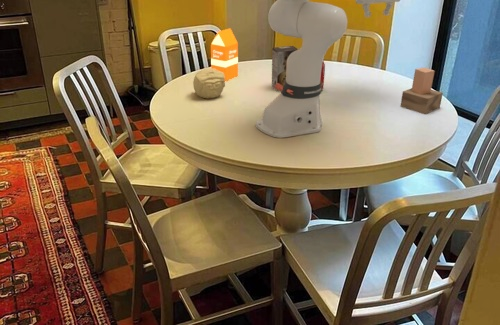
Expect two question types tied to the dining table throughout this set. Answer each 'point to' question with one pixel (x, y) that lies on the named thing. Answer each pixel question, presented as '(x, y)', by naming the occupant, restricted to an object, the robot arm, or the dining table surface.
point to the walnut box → (421, 101)
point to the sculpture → (209, 83)
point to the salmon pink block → (423, 80)
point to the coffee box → (280, 64)
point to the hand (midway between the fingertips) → (376, 16)
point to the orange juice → (225, 54)
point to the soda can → (322, 75)
